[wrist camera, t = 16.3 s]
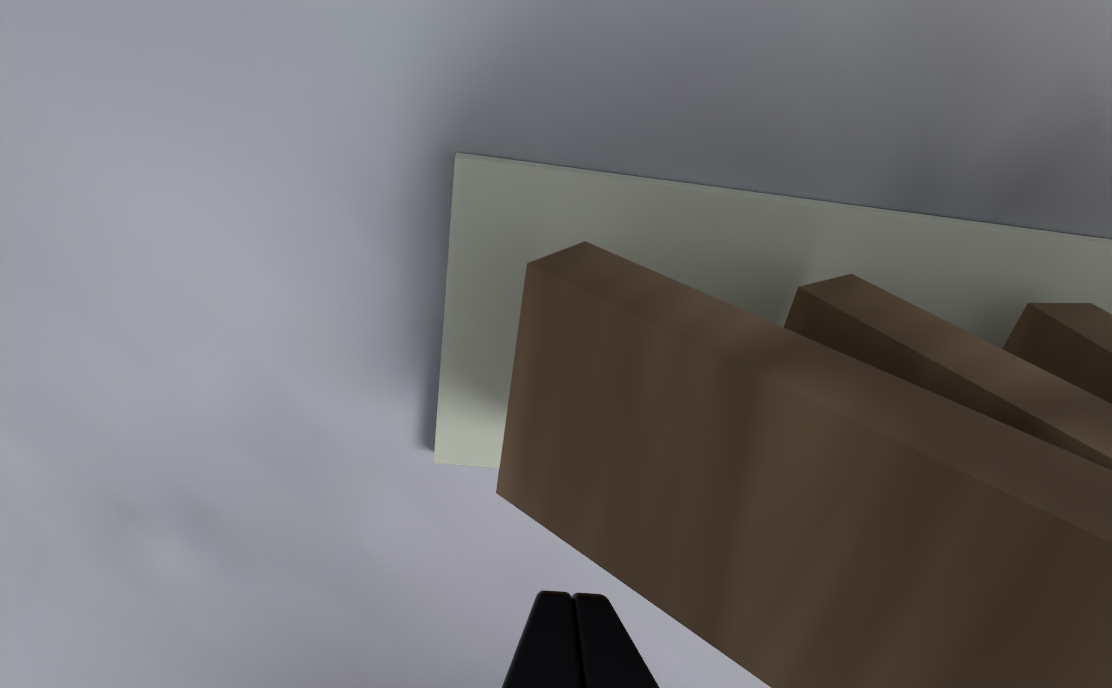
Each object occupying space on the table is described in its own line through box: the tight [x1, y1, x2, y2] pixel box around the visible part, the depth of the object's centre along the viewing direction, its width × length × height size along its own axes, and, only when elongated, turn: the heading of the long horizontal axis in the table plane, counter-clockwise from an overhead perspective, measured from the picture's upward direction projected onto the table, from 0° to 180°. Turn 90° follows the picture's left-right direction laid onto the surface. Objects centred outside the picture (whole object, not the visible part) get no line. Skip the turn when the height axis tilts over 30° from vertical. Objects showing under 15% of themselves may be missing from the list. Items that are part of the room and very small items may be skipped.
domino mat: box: [434, 152, 1112, 468], centre depth 15 cm, size 23×7×1 cm, turn 82°
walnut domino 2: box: [784, 274, 1112, 470], centre depth 11 cm, size 2×5×9 cm
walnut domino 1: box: [496, 241, 1112, 688], centre depth 11 cm, size 2×5×9 cm
